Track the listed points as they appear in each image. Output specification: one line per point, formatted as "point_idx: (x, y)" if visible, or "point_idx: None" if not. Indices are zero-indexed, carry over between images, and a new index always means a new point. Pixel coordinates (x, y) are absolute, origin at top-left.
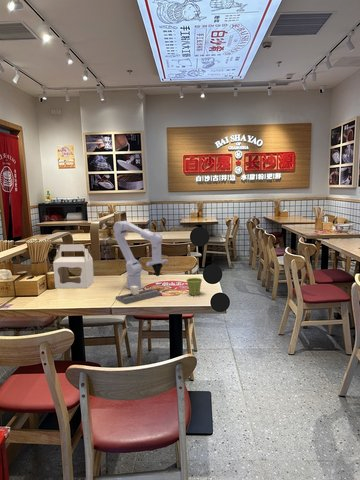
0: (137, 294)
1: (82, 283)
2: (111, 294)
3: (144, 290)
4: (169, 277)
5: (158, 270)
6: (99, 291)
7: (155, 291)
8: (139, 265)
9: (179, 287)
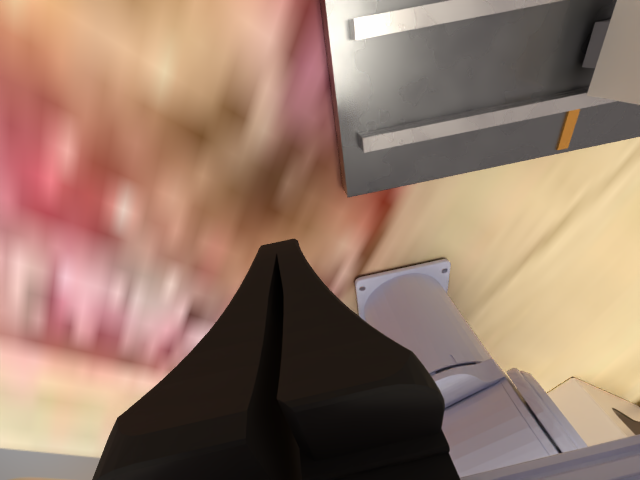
0: (603, 21)
1: (603, 403)
2: (594, 242)
3: (465, 120)
4: (90, 421)
5: (285, 299)
6: (582, 318)
7: (382, 13)
8: None
9: (9, 160)
